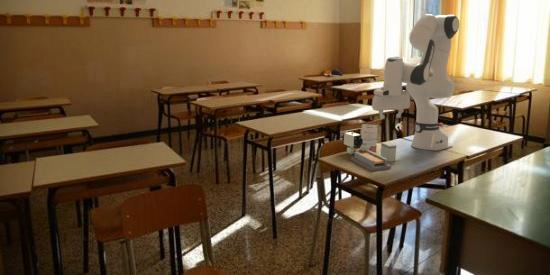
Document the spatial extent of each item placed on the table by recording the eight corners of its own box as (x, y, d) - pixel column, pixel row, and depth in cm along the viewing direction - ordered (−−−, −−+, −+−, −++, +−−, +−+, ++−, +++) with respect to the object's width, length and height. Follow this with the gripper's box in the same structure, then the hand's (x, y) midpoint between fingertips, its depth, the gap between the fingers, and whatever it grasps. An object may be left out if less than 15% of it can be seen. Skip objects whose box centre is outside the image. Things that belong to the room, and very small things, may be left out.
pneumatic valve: (355, 157, 215) (356, 134, 212) (341, 151, 225) (341, 130, 222) (363, 155, 218) (364, 133, 215) (348, 150, 228) (349, 128, 225)
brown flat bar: (367, 154, 211) (367, 152, 210) (383, 162, 198) (383, 160, 198) (358, 156, 209) (358, 154, 208) (374, 164, 196) (374, 162, 196)
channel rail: (369, 157, 214) (370, 149, 213) (390, 168, 198) (391, 159, 196) (351, 160, 210) (351, 151, 209) (371, 171, 194) (371, 162, 193)
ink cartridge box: (376, 149, 229) (378, 123, 226) (376, 151, 225) (377, 125, 221) (360, 148, 232) (362, 122, 228) (360, 150, 227) (361, 124, 223)
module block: (387, 156, 216) (388, 141, 214) (395, 160, 209) (396, 145, 207) (380, 157, 214) (381, 142, 212) (388, 161, 208) (389, 146, 206)
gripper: (405, 88, 209) (403, 115, 213) (371, 90, 203) (369, 118, 206) (413, 90, 204) (411, 118, 207) (378, 92, 197) (376, 121, 200)
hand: (390, 118), depth 207 cm, fingers open, 8 cm apart
